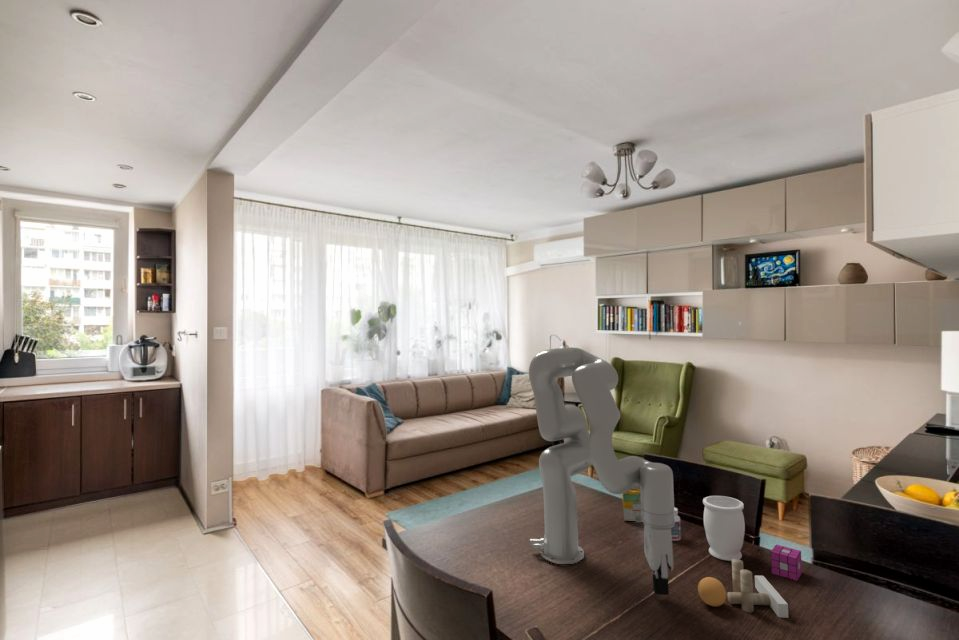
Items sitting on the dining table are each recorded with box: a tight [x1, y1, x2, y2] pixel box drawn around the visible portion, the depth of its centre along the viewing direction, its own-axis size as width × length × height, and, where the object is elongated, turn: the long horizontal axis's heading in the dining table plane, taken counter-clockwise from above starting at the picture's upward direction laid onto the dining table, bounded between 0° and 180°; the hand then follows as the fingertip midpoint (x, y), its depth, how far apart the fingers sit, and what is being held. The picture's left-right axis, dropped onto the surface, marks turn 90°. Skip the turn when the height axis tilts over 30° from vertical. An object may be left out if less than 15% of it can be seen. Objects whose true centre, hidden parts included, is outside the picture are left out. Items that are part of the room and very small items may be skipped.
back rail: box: [754, 575, 789, 619], centre depth 110 cm, size 2×12×3 cm, turn 172°
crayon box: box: [621, 487, 642, 523], centre depth 158 cm, size 7×3×12 cm, turn 77°
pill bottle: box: [671, 506, 682, 542], centre depth 145 cm, size 5×5×9 cm
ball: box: [697, 576, 727, 608], centre depth 110 cm, size 6×6×6 cm
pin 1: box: [731, 559, 744, 592], centre depth 113 cm, size 2×2×8 cm
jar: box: [702, 495, 746, 562], centre depth 133 cm, size 11×10×15 cm
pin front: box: [726, 591, 770, 606], centre depth 110 cm, size 2×2×8 cm
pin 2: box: [740, 568, 755, 613], centre depth 108 cm, size 2×2×8 cm
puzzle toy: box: [770, 544, 803, 582], centre depth 122 cm, size 6×6×6 cm
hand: (660, 592), depth 113 cm, fingers closed
